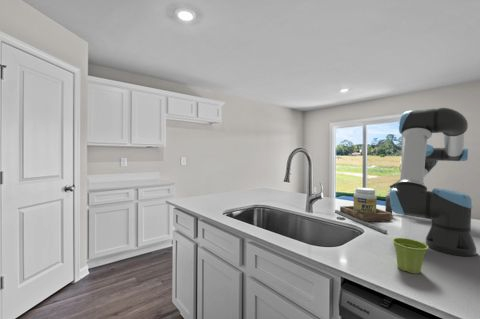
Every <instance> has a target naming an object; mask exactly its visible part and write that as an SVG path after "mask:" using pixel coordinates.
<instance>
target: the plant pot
mask: <svg viewBox="0 0 480 319" xmlns="http://www.w3.org/2000/svg"><path fill="white" fill-rule="evenodd" d="M392 242H393V245H394V248H395V255H396V256H395V257H396V266H397V267H398V268H399V270H401V271H404V272H405V271H406V272H408V273H409V274H420V273H421V272H422V267H423V262H424V258H425V254H426V253H427V251H428V249H429V248H430V247H429V246H427V245H426V243H424V242H421V241H418V240H416V239H410V238H407V237H394V238H392Z"/></svg>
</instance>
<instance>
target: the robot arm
mask: <svg viewBox="0 0 480 319" xmlns="http://www.w3.org/2000/svg"><path fill="white" fill-rule="evenodd" d="M398 124H399V126H398V132H399V134H400V135H401V136H402V137H403V139H404V145H403V146H404V147H403V154H402V161H401V162H402V164H401V168H400V169H401V171H400V177H399V180H397V181H396V182H394V183H392V184H391V185H390V186H389V188H390V189H389V191H388V192H387V193H386V195H390V204H391V208H392V213H394V214H397V215H401V216H404V217H406V216H407V217H413V218H420V219H426V220H431V226H430V228H429V231H428V232H427V235H426V237H425V244H426V245H427V246H428V247H429V248H431V249H433V250H435V251H439V252H441V253H445V254H449V255H455V256H459V257H475V256H476V255H477V246H476V244H475V242H474V238H473V236H472V233H471V232H472V231H471V228H472V209H473V205H472V198H471V196H470V195H469V194H466V193H465V192H459V191H455V190H451V189H446V188H445V189H444V188H437V187H435V188H433V189H432V190H431V191H429V190H428V187H427V186H426V185H425V182H424V181H425V180H424V178H426V176H427V175H428V174H430V173H429V172H431V171H432V169H433V168H434V167H436V165H437V163H438V162H441V161H445V162H466V161H468V156H469V149H468V148H467V147H464V144H465V133H466V132H467V130H468V128H469V124H468V120H467V119H466V117H465V116H464V115H463V113H461V112H459V111H457V110H455V109H452V108H448V107H438V108H436V107H435V108H427V109H419V110H418V109H412V110H407V111H405V112H403V113H402V114H401V117H400V119H399V122H398ZM438 133H441V134H443V141H444V143H443V144H444V147H433V145H431V144H428V140H429V139H430V138H432V136H433V134H438Z"/></svg>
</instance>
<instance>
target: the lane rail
mask: <svg viewBox="0 0 480 319" xmlns="http://www.w3.org/2000/svg"><path fill="white" fill-rule="evenodd" d="M334 213H335V214H338V215H340V216H343V217H345V218H347V219H348V220H352V221H355V222H356V223H358V224H361V225H363V226H366V227H368V228H370V229H373V230H375V231H378V232H380V233H382V234H384V235H386V234H388V230H387V229H384V228H382V227H380V226H378V225H375V224H372V223H370V222H369V221H363V220H360V219H358V218H356V217H353V216H351V215H348V214H346V213H343V212H341V211H340V210H338V209H335V210H334Z"/></svg>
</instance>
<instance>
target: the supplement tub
mask: <svg viewBox="0 0 480 319" xmlns="http://www.w3.org/2000/svg"><path fill="white" fill-rule="evenodd" d="M377 198H378V197H377V194H376V189H374V188H369V187H355V192H354V193H353V205H352V206H353V211H356V212H359V213H361V214H369V213H376V208H377V202H378V201H377V200H378V199H377Z"/></svg>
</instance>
